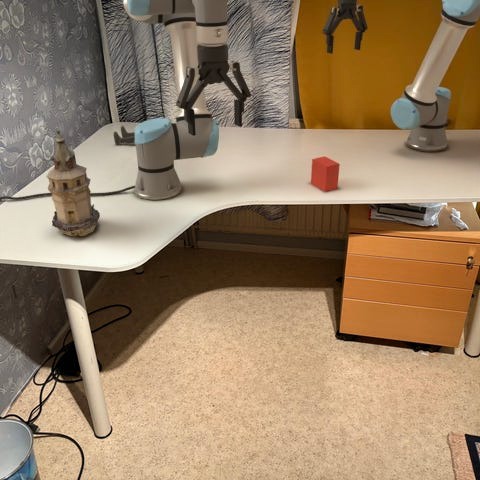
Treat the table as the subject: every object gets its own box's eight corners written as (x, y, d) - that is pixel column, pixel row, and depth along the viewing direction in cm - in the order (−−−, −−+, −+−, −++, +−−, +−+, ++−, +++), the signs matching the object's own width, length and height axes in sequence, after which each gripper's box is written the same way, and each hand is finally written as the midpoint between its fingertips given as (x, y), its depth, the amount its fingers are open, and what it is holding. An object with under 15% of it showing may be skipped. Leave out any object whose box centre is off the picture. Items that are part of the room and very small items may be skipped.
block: (325, 191, 176) (326, 166, 172) (310, 183, 182) (312, 158, 178) (337, 188, 178) (339, 163, 174) (323, 180, 184) (324, 156, 180)
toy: (129, 119, 231) (196, 119, 225) (131, 133, 234) (197, 134, 228) (104, 139, 209) (177, 139, 203) (107, 154, 212) (179, 155, 206)
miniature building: (80, 214, 164) (63, 117, 149) (111, 225, 157) (96, 125, 142) (44, 231, 154) (22, 130, 140) (75, 244, 147) (55, 139, 133)
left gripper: (171, 51, 120) (177, 142, 131) (264, 40, 131) (263, 125, 142) (158, 46, 126) (165, 133, 137) (248, 36, 137) (249, 118, 147)
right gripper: (327, -5, 193) (323, 56, 204) (380, -9, 204) (374, 49, 214) (315, -7, 199) (312, 53, 209) (367, -11, 209) (362, 46, 220)
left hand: (215, 129), depth 139 cm, fingers open, 13 cm apart
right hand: (343, 51), depth 212 cm, fingers open, 13 cm apart
